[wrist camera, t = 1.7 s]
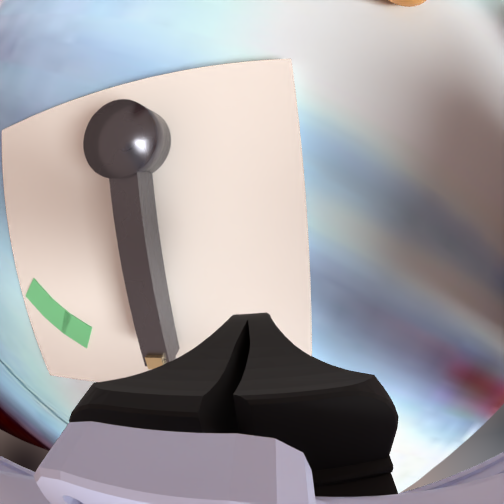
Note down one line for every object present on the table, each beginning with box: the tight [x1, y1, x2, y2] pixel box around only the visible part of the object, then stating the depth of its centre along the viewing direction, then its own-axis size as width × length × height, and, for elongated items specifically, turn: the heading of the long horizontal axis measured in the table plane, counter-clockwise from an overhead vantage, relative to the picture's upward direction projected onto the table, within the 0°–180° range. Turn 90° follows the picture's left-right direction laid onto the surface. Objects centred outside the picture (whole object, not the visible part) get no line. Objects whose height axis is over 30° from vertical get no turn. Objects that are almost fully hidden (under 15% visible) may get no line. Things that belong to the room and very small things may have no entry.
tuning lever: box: [83, 99, 180, 369], centre depth 16 cm, size 14×4×3 cm, turn 5°
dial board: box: [2, 59, 312, 382], centre depth 18 cm, size 20×21×1 cm
